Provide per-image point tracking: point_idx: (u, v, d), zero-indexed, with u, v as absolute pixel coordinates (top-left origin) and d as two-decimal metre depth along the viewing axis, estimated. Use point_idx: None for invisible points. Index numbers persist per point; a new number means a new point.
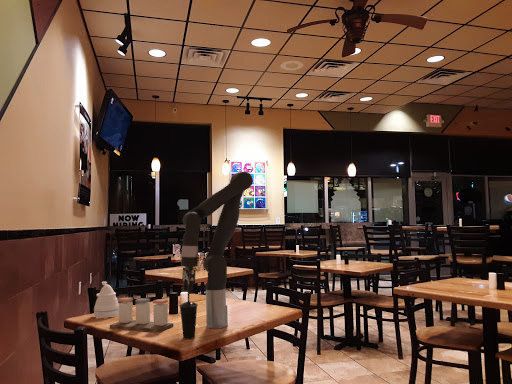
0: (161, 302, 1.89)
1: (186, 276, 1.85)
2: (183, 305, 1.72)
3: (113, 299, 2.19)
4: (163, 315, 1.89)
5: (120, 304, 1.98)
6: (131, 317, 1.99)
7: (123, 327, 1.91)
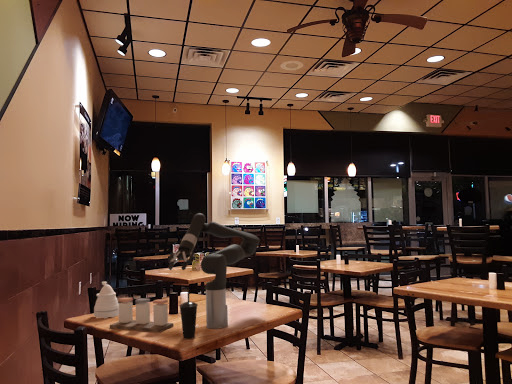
0: (161, 302, 1.89)
1: (184, 255, 2.10)
2: (183, 305, 1.72)
3: (113, 299, 2.19)
4: (163, 315, 1.89)
5: (120, 304, 1.98)
6: (131, 317, 1.99)
7: (123, 327, 1.91)
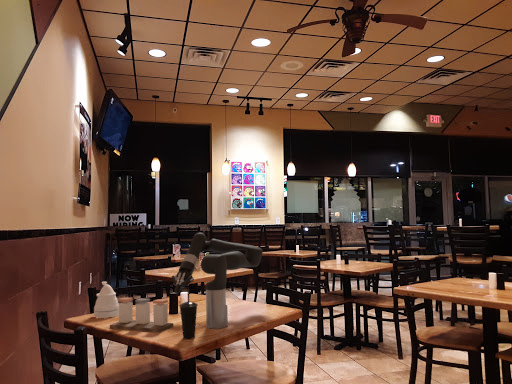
0: (161, 302, 1.89)
1: (182, 277, 2.09)
2: (183, 305, 1.72)
3: (113, 299, 2.19)
4: (163, 315, 1.89)
5: (120, 304, 1.98)
6: (131, 317, 1.99)
7: (123, 327, 1.91)
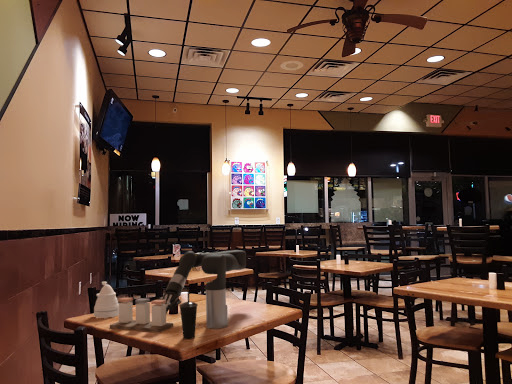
0: (159, 303, 1.88)
1: (169, 300, 1.96)
2: (183, 305, 1.72)
3: (113, 299, 2.19)
4: (162, 316, 1.88)
5: (120, 304, 1.98)
6: (131, 317, 1.99)
7: (123, 327, 1.91)
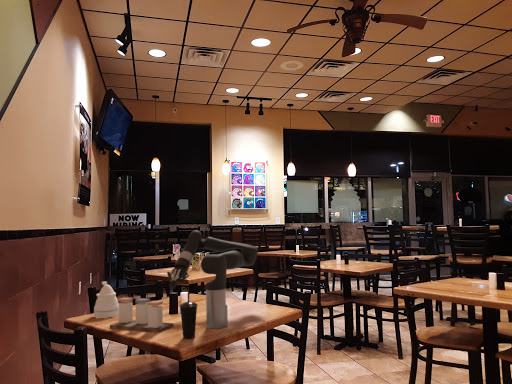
0: (156, 304, 1.85)
1: (177, 273, 2.13)
2: (183, 305, 1.72)
3: (113, 299, 2.19)
4: (158, 317, 1.86)
5: (120, 304, 1.98)
6: (131, 317, 1.99)
7: (123, 327, 1.91)
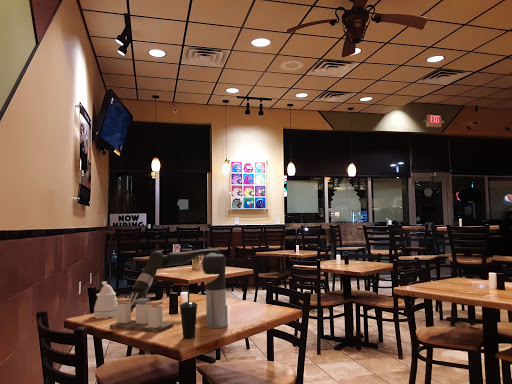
0: (156, 304, 1.85)
1: (135, 298, 2.04)
2: (183, 305, 1.72)
3: (113, 299, 2.19)
4: (158, 317, 1.86)
5: (118, 304, 1.96)
6: (129, 318, 1.97)
7: (123, 327, 1.91)
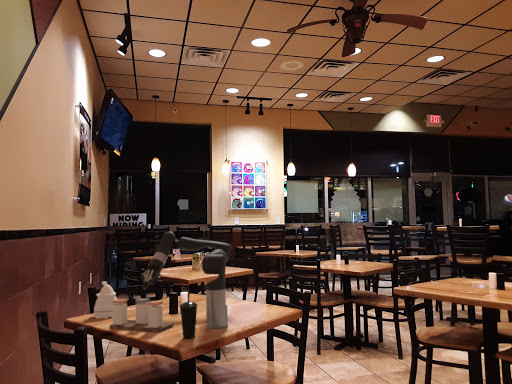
0: (156, 304, 1.85)
1: (150, 274, 2.17)
2: (183, 305, 1.72)
3: (113, 299, 2.19)
4: (158, 317, 1.86)
5: (114, 306, 1.94)
6: (125, 319, 1.95)
7: (123, 327, 1.91)
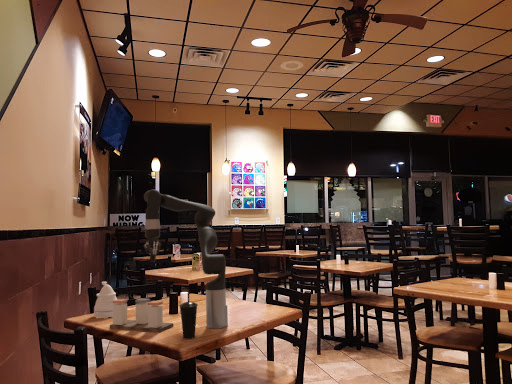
0: (156, 304, 1.85)
1: (156, 246, 2.12)
2: (183, 305, 1.72)
3: (113, 299, 2.19)
4: (158, 317, 1.86)
5: (114, 306, 1.94)
6: (125, 319, 1.95)
7: (123, 327, 1.91)
